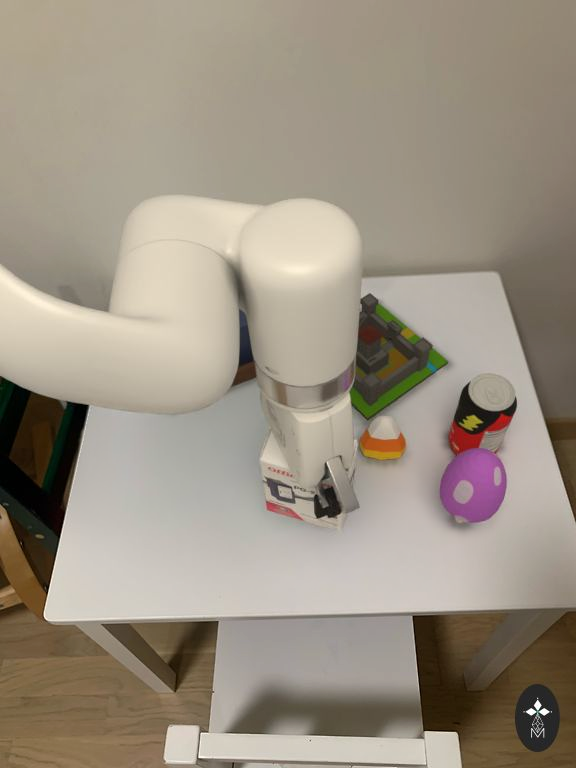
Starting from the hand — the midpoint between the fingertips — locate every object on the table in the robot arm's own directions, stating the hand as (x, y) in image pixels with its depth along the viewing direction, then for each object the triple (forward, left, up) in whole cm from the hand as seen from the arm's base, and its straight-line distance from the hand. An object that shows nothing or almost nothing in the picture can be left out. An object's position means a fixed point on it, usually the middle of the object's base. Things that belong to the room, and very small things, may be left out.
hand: (309, 467), depth 58 cm
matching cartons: (+4, +31, -16) cm, 35 cm away
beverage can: (+23, +2, -17) cm, 29 cm away
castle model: (+18, +20, -17) cm, 32 cm away
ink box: (0, 0, -8) cm, 8 cm away
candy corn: (+12, +6, -17) cm, 22 cm away
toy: (+16, -6, -17) cm, 24 cm away
